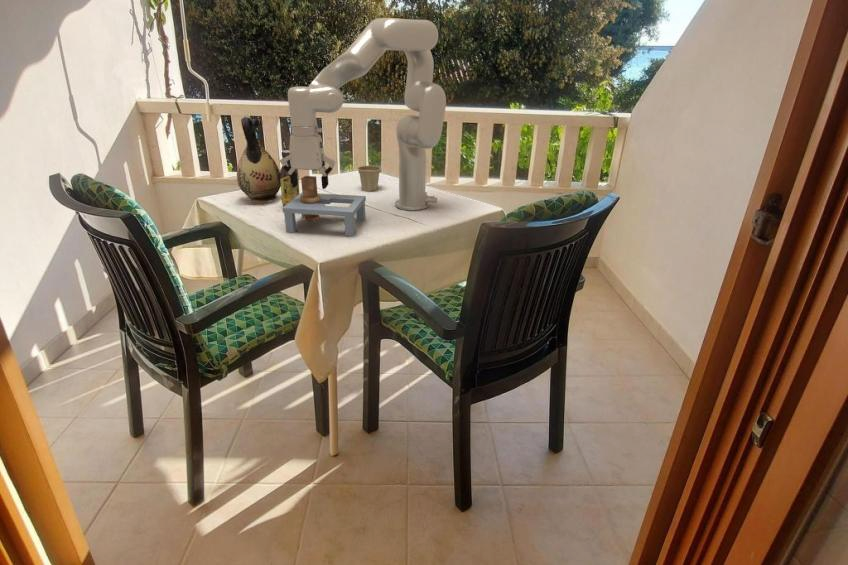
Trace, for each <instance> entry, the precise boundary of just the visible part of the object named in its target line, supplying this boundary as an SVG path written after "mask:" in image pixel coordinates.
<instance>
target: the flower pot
mask: <svg viewBox="0 0 848 565" xmlns="http://www.w3.org/2000/svg"><path fill="white" fill-rule="evenodd" d="M381 170H382V167H381V166H378V165H360V166H358V167H357V171H358V173H359V178H360V184H361V189H362V191H365V192H373V191H374V192H375V191H377V190H378V188H379V178H380V172H381Z"/></svg>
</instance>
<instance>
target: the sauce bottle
mask: <svg viewBox="0 0 848 565" xmlns="http://www.w3.org/2000/svg"><path fill="white" fill-rule="evenodd" d="M288 155H290V152H289V150H288V149H287V150H285V149H284V150H282V151H281V158H284V157H286V156H288ZM287 164H288V165H289V166H290V167H291V164H290V160H288V161H287ZM279 171H280V176H281V178H280V182H281V187H280V191H281V192H280V193H281V203H282V208H283V207H284V206H285V205H287V204H288V203H289V202H290V201H292V200H293V199H294V198H295V197H297V196H298V195H299V194H300V193H301V192H300V182H299V181H300V180H299V169H297V170H296V171H295V173H297V180H298V185H297V186H296V187H295V188H293V187H292V184H291V180H290V175H289V174H288V172H287V171H286V170H285V169H284V167H283V166H282V165H281V168H280V169H279Z"/></svg>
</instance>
